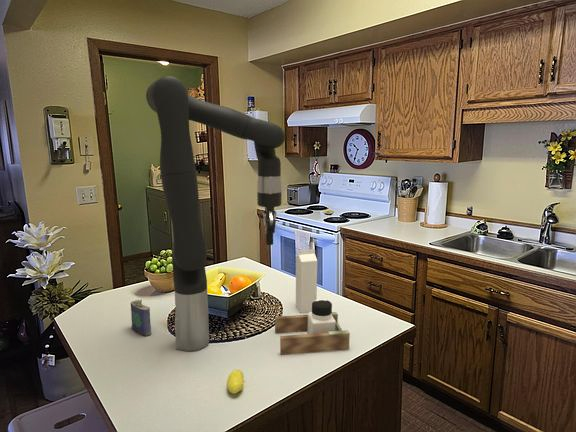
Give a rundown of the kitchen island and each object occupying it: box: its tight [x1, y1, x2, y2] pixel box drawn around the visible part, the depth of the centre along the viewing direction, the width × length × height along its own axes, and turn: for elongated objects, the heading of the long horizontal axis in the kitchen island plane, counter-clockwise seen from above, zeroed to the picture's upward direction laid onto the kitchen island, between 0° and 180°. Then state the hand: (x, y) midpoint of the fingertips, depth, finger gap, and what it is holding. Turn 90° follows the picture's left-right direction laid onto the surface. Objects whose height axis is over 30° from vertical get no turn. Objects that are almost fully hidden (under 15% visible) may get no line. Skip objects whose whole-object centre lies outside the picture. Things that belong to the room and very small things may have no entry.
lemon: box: [226, 369, 245, 395], centre depth 95 cm, size 4×8×4 cm, turn 178°
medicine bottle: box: [307, 298, 336, 334], centre depth 118 cm, size 7×7×12 cm
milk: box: [295, 249, 318, 314], centre depth 138 cm, size 6×6×22 cm
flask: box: [130, 298, 152, 337], centre depth 122 cm, size 9×3×11 cm, turn 50°
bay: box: [274, 311, 351, 356], centre depth 118 cm, size 20×14×5 cm
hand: (269, 244), depth 124 cm, fingers closed
